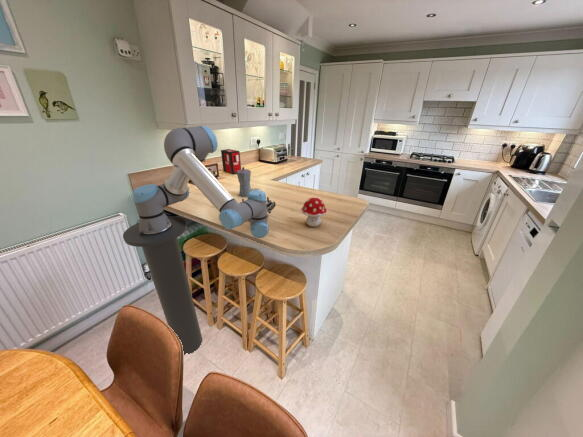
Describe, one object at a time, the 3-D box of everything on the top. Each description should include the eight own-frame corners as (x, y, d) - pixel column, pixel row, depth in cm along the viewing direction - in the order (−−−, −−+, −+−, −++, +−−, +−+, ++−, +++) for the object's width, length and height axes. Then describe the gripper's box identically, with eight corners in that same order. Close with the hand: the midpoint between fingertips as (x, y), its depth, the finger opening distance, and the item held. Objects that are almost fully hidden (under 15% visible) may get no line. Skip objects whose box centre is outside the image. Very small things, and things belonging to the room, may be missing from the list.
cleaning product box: (223, 171, 225) (220, 150, 216) (231, 169, 231) (228, 149, 222) (233, 174, 215) (231, 152, 206) (241, 172, 221) (239, 151, 212)
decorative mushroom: (331, 223, 126) (333, 197, 120) (316, 233, 117) (317, 205, 110) (311, 216, 135) (312, 191, 128) (295, 224, 125) (295, 198, 119)
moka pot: (239, 198, 160) (236, 169, 151) (237, 191, 173) (235, 164, 164) (253, 197, 162) (251, 168, 153) (250, 190, 175) (248, 163, 167)
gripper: (231, 225, 110) (233, 207, 129) (283, 221, 114) (277, 204, 133) (229, 211, 107) (231, 195, 126) (283, 207, 111) (277, 192, 130)
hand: (255, 200), depth 129 cm, fingers open, 13 cm apart
